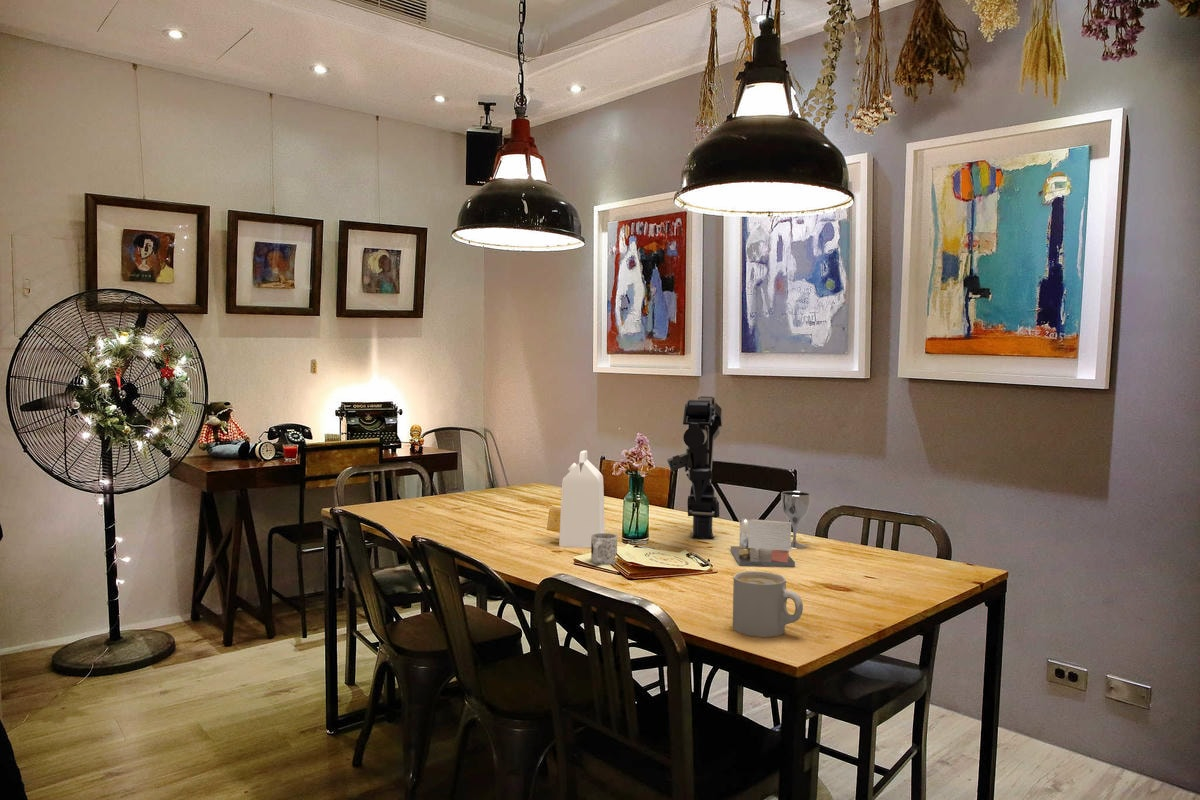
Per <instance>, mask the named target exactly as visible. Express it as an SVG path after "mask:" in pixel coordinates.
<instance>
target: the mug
mask: <svg viewBox="0 0 1200 800" xmlns="http://www.w3.org/2000/svg"><path fill="white" fill-rule="evenodd" d="M590 549H591V550H590V552H591V554H590V562H591V563H592V564H596V565H602V566H604V565H605V566H606V565H608V566H609V565H614V564H617V563H618V559H617V558H618V557H617V558H616V559H614V558H615V556H616V553H617V554H618V535H617V534H615V533H609V532H608V533H607V532H605V533H598V534H593V535H591V548H590ZM612 559H614V560H612Z"/></svg>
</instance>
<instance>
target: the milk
mask: <svg viewBox="0 0 1200 800" xmlns="http://www.w3.org/2000/svg"><path fill="white" fill-rule="evenodd" d="M567 470H568V471H569V472H568V473H566V475H565V476H563V478H562V482H561V495H560V496H561V497H560V499H561V500H560V501H561V502H560V518H559V519H560V520H559V522H560V523H559V542H558V543H559V544H558V545H559V546H558V547H560V548H563V547H564V548H582V549H583V548H585V549H586V548H588V549H591V535H593V534H598V533H606V531H605V530H606V529H605V528H606V527H605V526H606V524H605V496H604V495H605V493H604V489H605V488H604V475H603V474H602V473H601V471H600V470H599V469H598V468H597V467H596V466H595V465H594V464H593V463H591V461H590V460H589V459H588V450H582V451H580V452H579V458H578V463H576V462H573V463H572V464H571V465H570V466H569V467H568V469H567Z"/></svg>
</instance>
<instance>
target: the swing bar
mask: <svg viewBox="0 0 1200 800" xmlns="http://www.w3.org/2000/svg"><path fill="white" fill-rule="evenodd" d="M791 542H792V524H791V522H790V521H779V520H768V519H767V520H765V519H753V518H752V519H751V518H739V546H740V547H743V548H760V549H772V550H785V551H789V552H790V551H791V549H792V548H791Z"/></svg>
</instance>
